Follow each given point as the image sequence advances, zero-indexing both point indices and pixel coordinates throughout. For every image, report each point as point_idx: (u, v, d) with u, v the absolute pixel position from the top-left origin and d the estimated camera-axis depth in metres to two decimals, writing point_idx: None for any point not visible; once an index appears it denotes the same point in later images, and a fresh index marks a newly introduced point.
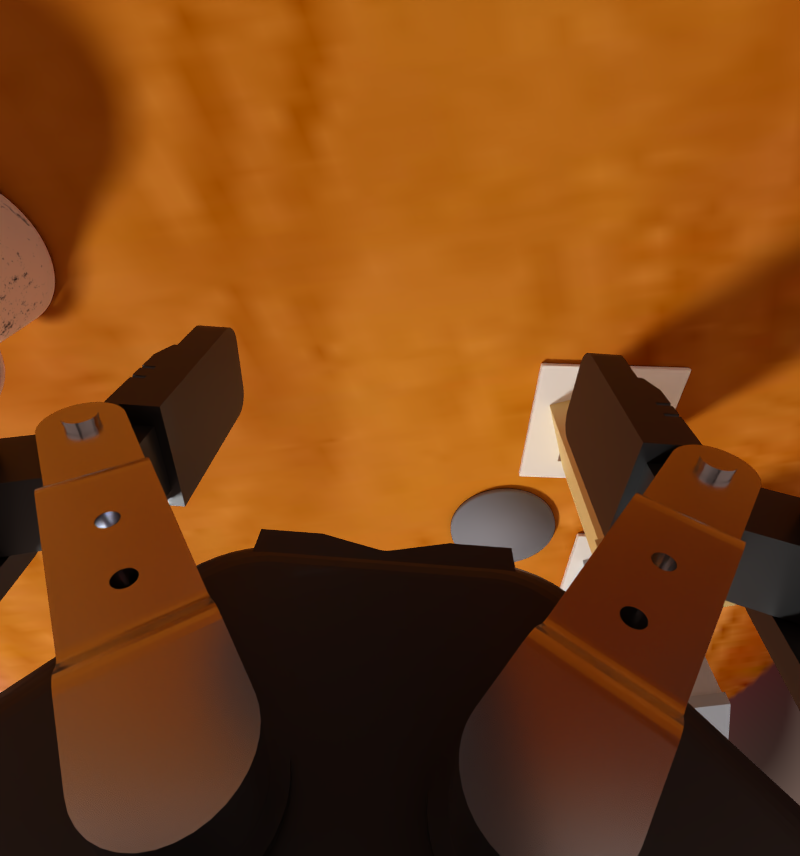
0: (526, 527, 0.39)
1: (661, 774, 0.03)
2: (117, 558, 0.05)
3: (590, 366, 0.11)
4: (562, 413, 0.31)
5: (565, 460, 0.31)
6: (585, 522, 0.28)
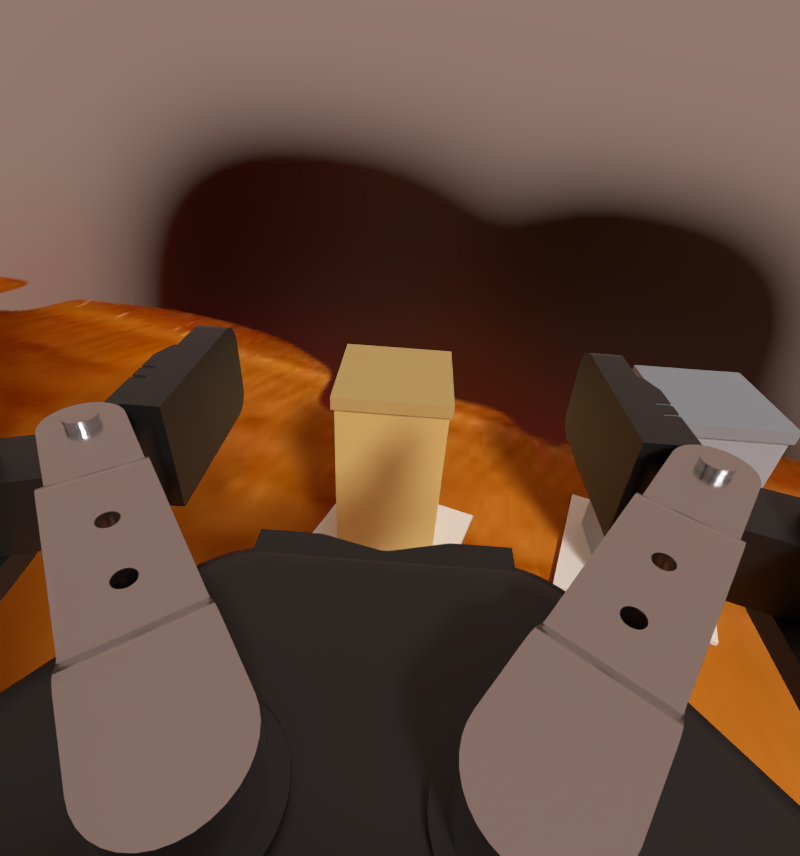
0: None
1: (661, 774, 0.03)
2: (117, 558, 0.05)
3: (590, 366, 0.11)
4: None
5: (371, 532, 0.29)
6: (391, 474, 0.26)
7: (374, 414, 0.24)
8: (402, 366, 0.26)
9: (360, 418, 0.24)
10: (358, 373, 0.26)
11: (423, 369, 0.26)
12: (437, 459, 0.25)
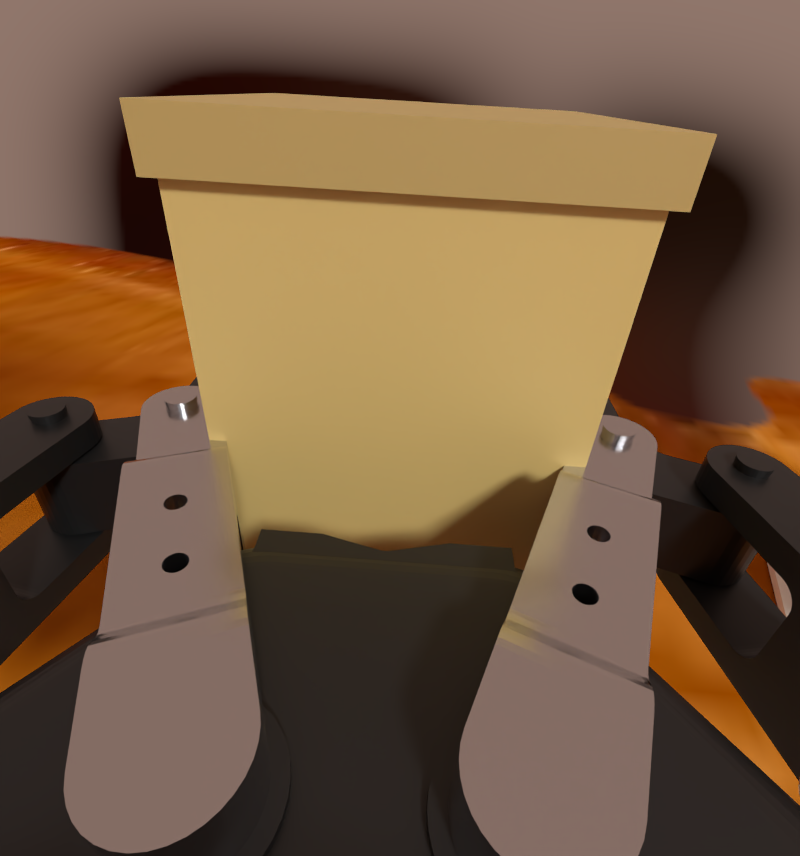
0: None
1: (647, 745, 0.03)
2: (174, 541, 0.05)
3: None
4: None
5: None
6: (404, 469, 0.08)
7: (336, 205, 0.06)
8: (440, 106, 0.08)
9: (275, 227, 0.06)
10: (284, 99, 0.07)
11: (512, 111, 0.08)
12: (577, 411, 0.07)
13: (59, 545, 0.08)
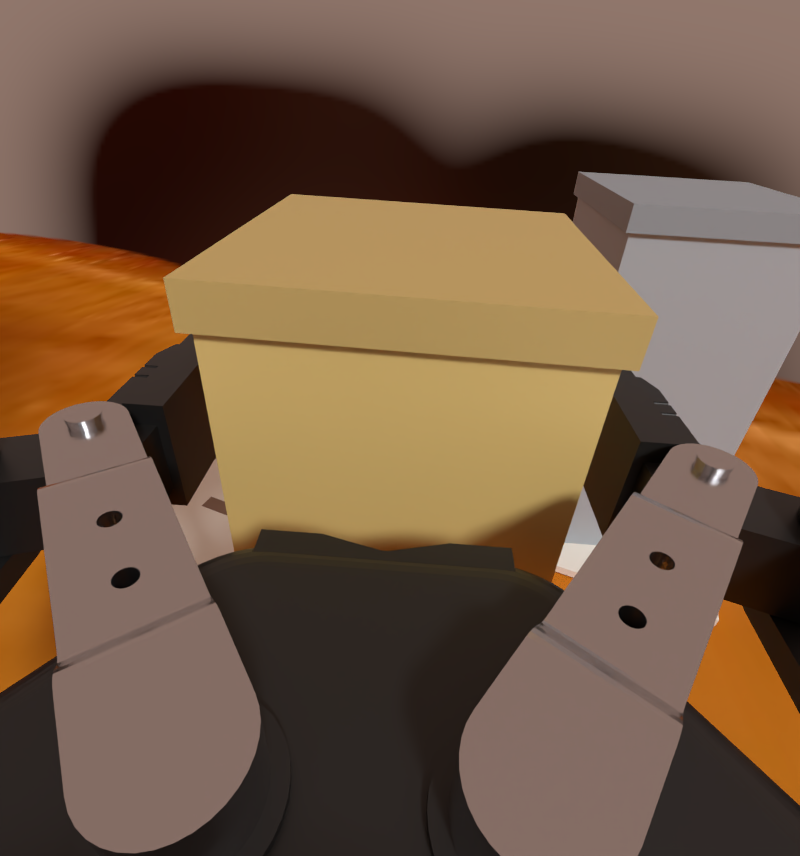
0: None
1: (660, 773, 0.03)
2: (119, 558, 0.05)
3: None
4: None
5: None
6: None
7: (341, 354, 0.07)
8: (437, 228, 0.09)
9: (290, 368, 0.07)
10: (299, 234, 0.08)
11: (501, 235, 0.09)
12: (550, 513, 0.08)
13: None
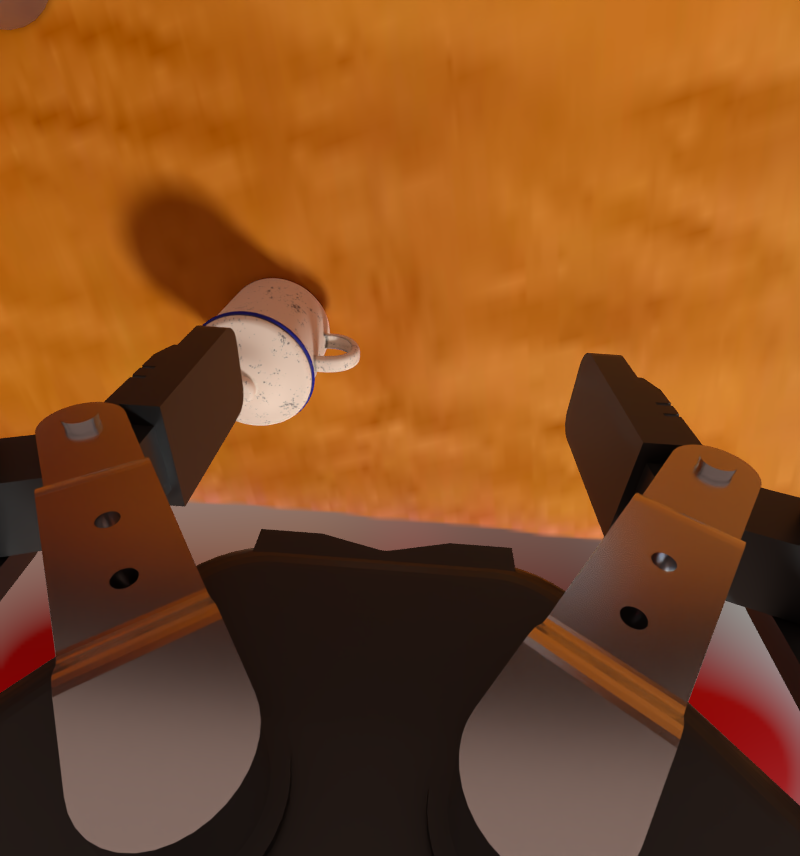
0: None
1: (661, 774, 0.03)
2: (117, 558, 0.05)
3: (590, 366, 0.11)
4: None
5: None
6: None
7: None
8: None
9: None
10: None
11: None
12: None
13: None
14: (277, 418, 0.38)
